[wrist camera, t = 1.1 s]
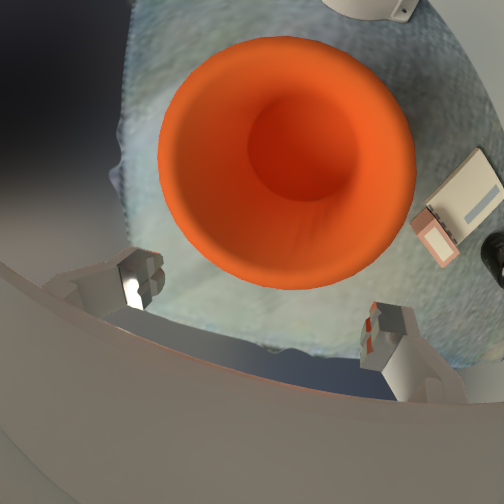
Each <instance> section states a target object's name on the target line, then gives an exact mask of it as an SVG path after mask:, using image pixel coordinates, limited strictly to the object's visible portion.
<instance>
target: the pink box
mask: <svg viewBox="0 0 504 504" xmlns="http://www.w3.org/2000/svg"><path fill="white" fill-rule="evenodd" d="M410 225H411V226H412V228H413V230H414V232H415V233H416V235H417V236H418V238H419V239H420V240H421V241H422V243H423V244H424V245H425V246H426V248H427V249H428V250H429V251H430V253H431V254H432V255H433V257H434V258H435V259H436V261H437V262H438V263H439V265H440V266H441V267H442V268H444V267H445V266H446V265H447V264H448V263H449V262H451V261H452V260H453V259H454V258H455V257H456V256H457V255H458V254H460V253H459V251H458V250H457V248H456V247H455V245H454V244H453V242H452V241H451V239H450V238H449V236H448V235H447V234H446V232H445V231H444V229H443V228H442V227H441V225H440V224H439V223H438V221H437V220H436V219H435V217H434V216H433V215H432V214H431V213H430V211H429V210H428V209H427V208H425V209H424V210H423V211H422V212H421V213H420V214H419V215H418V216H416V217H415V218H414V219H413V220H412V221H411V222H410Z"/></svg>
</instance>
